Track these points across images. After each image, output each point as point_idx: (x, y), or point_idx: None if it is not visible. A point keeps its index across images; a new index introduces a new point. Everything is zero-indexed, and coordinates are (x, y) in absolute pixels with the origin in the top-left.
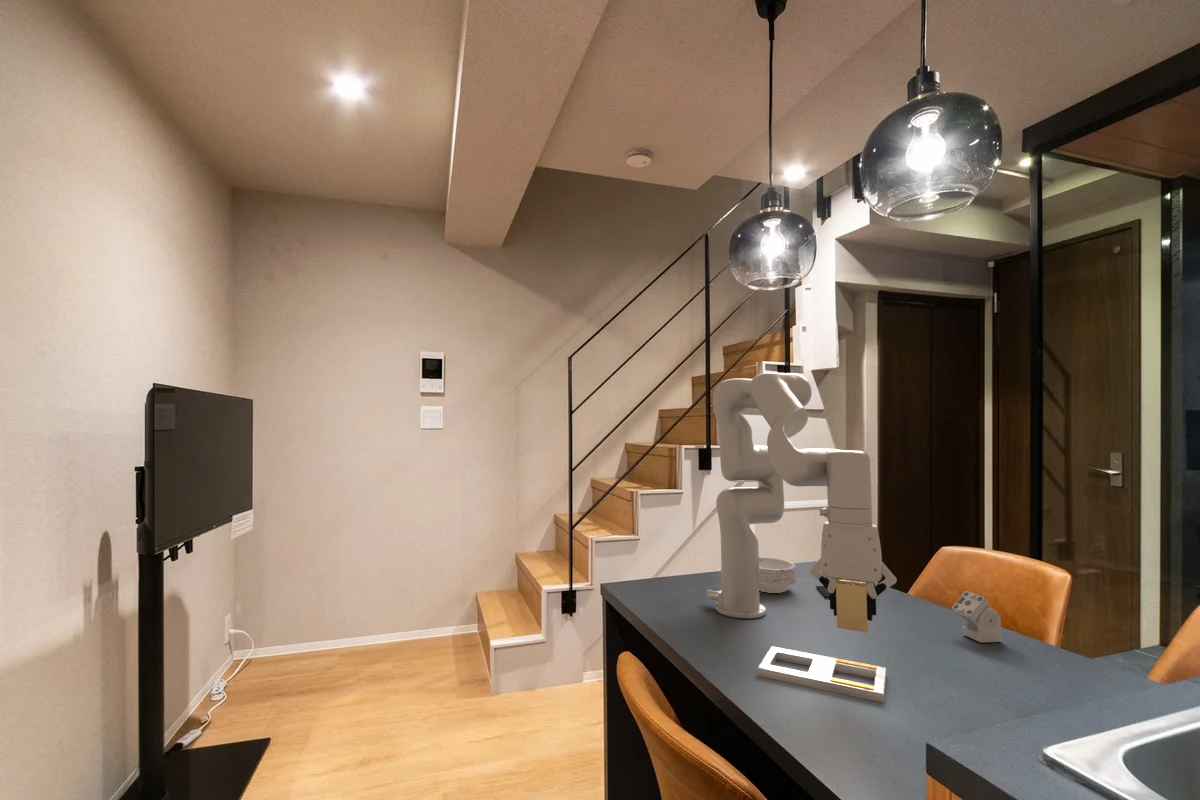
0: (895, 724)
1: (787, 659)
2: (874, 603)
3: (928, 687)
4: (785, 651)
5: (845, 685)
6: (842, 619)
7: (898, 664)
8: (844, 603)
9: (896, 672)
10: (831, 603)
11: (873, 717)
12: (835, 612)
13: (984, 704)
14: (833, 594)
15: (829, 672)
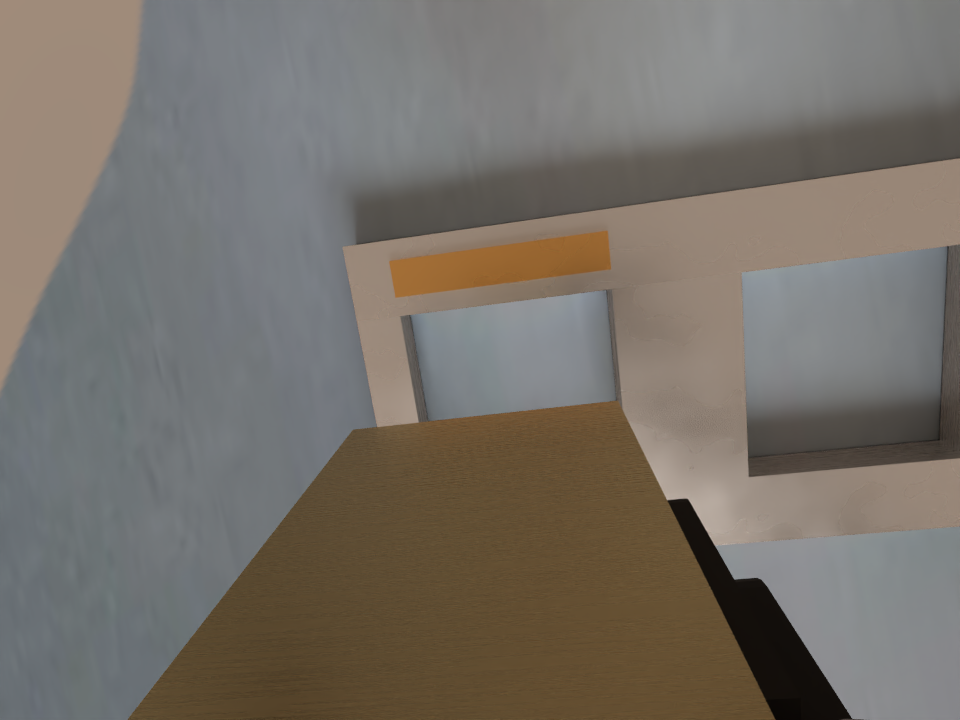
0: (262, 46)
1: (883, 450)
2: None
3: (244, 527)
4: (920, 489)
5: (522, 226)
6: (575, 442)
7: None
8: (558, 549)
9: None
10: (763, 618)
11: (357, 51)
12: (672, 510)
13: (47, 488)
14: (789, 689)
15: (632, 344)
